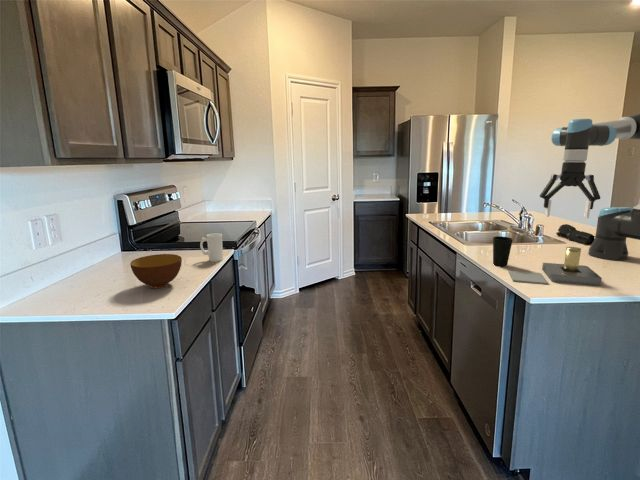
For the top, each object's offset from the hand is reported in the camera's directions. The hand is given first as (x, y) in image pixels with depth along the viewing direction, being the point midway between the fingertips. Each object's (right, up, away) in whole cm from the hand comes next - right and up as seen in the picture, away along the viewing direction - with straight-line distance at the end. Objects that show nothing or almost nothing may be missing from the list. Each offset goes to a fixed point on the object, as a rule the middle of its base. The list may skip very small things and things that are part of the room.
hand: (566, 217), depth 151 cm
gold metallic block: (+2, -24, +1) cm, 24 cm away
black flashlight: (+44, -10, +62) cm, 77 cm away
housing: (+2, -24, +1) cm, 24 cm away
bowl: (-158, -26, -5) cm, 160 cm away
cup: (-18, -20, +18) cm, 32 cm away
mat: (-15, -24, +1) cm, 28 cm away
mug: (-147, -19, +28) cm, 150 cm away
